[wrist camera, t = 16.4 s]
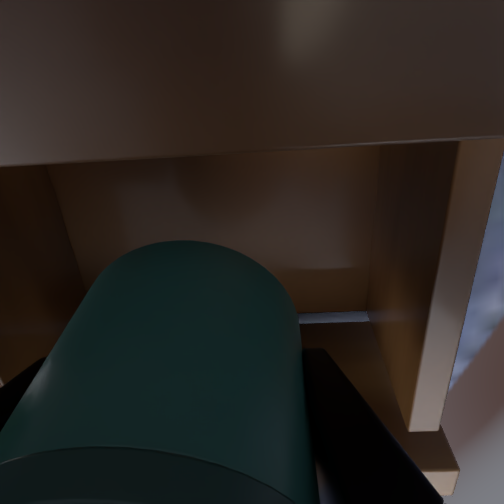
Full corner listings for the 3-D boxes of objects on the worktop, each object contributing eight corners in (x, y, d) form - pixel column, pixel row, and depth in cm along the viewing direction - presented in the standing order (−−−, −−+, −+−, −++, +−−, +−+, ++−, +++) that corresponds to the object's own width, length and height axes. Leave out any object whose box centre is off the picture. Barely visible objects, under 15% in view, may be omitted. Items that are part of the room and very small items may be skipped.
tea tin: (109, 411, 10) (-1, 698, 6) (51, 239, 8) (-199, 509, 4) (304, 406, 10) (336, 701, 6) (303, 228, 8) (356, 501, 3)
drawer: (381, 432, 20) (426, 591, 14) (114, 438, 21) (60, 592, 15) (440, -21, 11) (615, -54, 6) (-33, 16, 12) (-292, 19, 6)
